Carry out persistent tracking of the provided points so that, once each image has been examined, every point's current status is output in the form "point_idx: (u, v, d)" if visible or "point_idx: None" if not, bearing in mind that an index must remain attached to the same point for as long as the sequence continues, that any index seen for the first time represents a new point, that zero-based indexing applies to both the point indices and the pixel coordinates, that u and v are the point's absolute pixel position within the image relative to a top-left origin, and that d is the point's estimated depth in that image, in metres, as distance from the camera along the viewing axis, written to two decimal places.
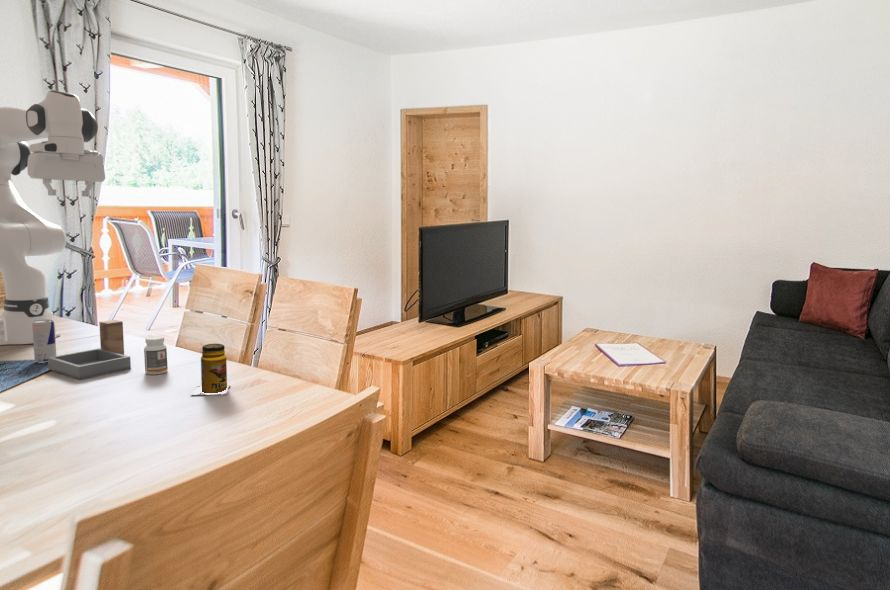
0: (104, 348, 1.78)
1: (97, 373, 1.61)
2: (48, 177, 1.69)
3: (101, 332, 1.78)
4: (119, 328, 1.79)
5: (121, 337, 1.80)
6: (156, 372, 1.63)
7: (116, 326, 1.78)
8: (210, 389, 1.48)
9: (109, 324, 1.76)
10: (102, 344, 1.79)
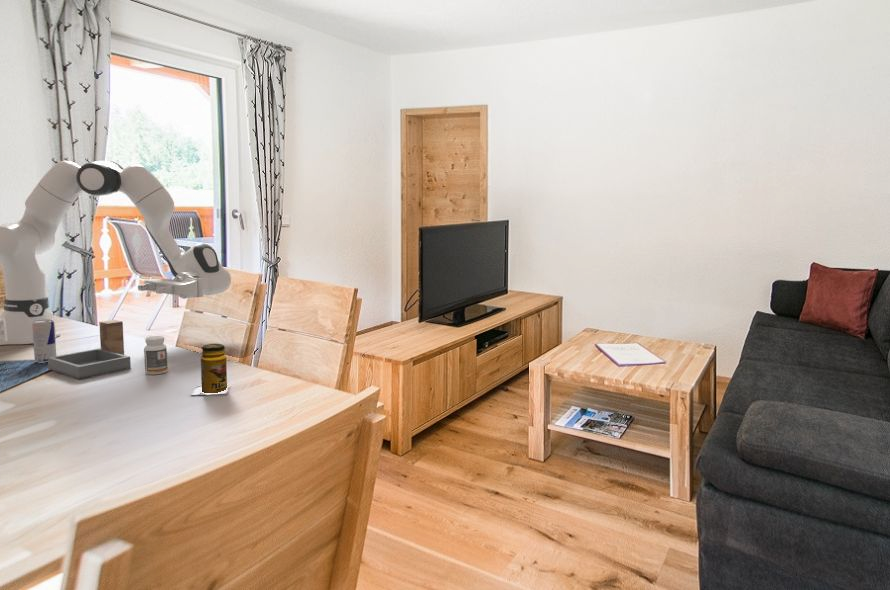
0: (104, 348, 1.78)
1: (97, 373, 1.61)
2: (174, 294, 1.89)
3: (101, 332, 1.78)
4: (119, 328, 1.79)
5: (121, 337, 1.80)
6: (156, 372, 1.63)
7: (116, 326, 1.78)
8: (210, 389, 1.48)
9: (109, 324, 1.76)
10: (102, 344, 1.79)
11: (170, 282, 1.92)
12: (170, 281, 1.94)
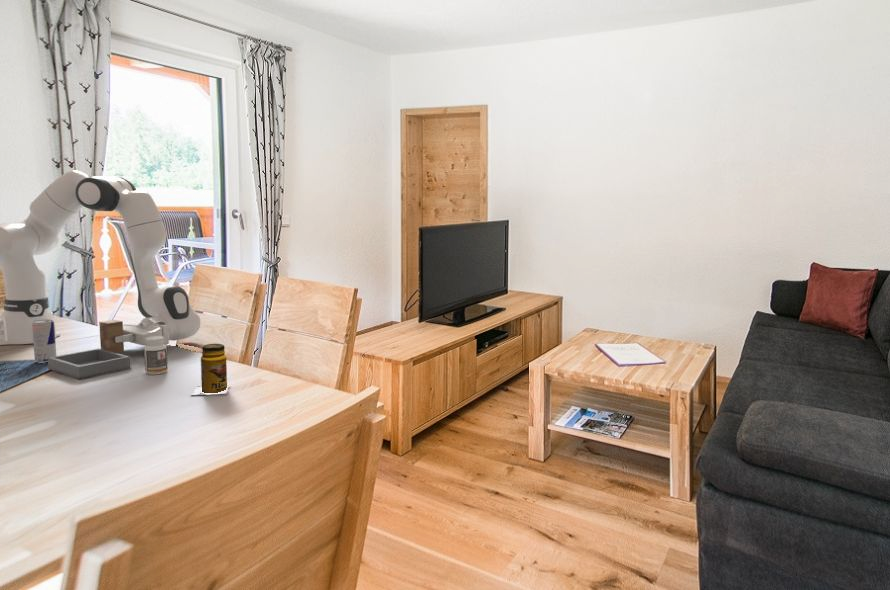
0: (104, 348, 1.78)
1: (97, 373, 1.61)
2: (137, 343, 1.80)
3: (101, 332, 1.78)
4: (119, 328, 1.79)
5: None
6: (156, 372, 1.63)
7: (116, 326, 1.78)
8: (210, 389, 1.48)
9: (109, 324, 1.76)
10: (102, 344, 1.79)
11: (133, 330, 1.83)
12: (133, 328, 1.85)
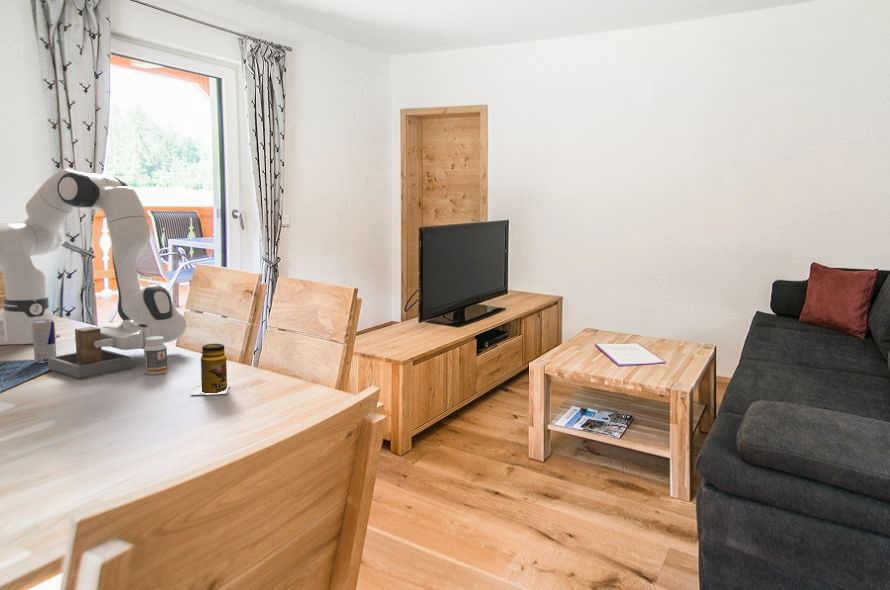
0: (80, 357, 1.65)
1: (97, 373, 1.61)
2: None
3: (77, 340, 1.65)
4: (96, 336, 1.66)
5: None
6: (156, 372, 1.63)
7: (93, 334, 1.65)
8: (210, 389, 1.48)
9: (85, 331, 1.63)
10: (78, 353, 1.65)
11: (112, 333, 1.69)
12: (113, 331, 1.72)
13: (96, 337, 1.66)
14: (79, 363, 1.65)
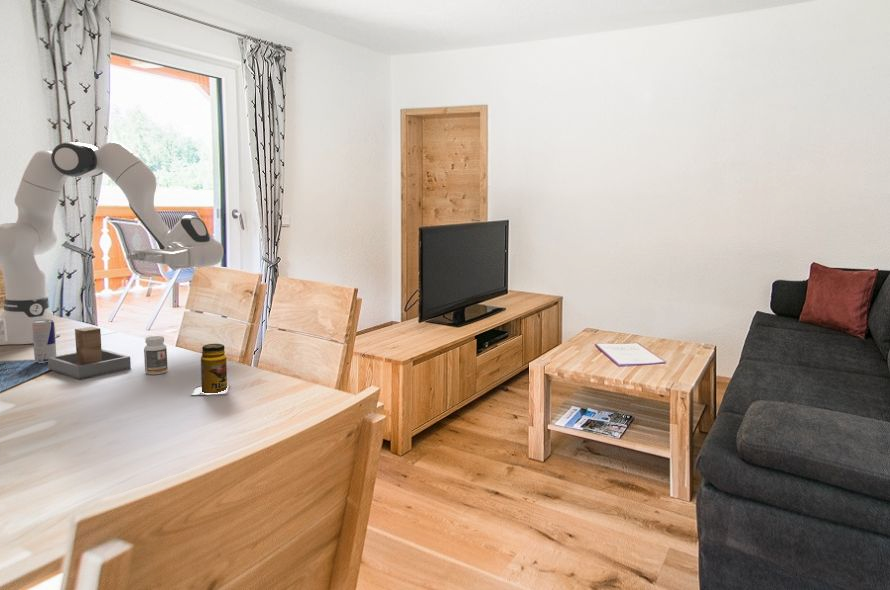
0: (80, 357, 1.65)
1: (97, 373, 1.61)
2: None
3: (77, 340, 1.65)
4: (96, 336, 1.66)
5: (99, 345, 1.66)
6: (156, 372, 1.63)
7: (93, 334, 1.65)
8: (210, 389, 1.48)
9: (85, 331, 1.63)
10: (78, 353, 1.65)
11: (160, 251, 1.85)
12: None
13: (96, 337, 1.66)
14: (79, 363, 1.65)
